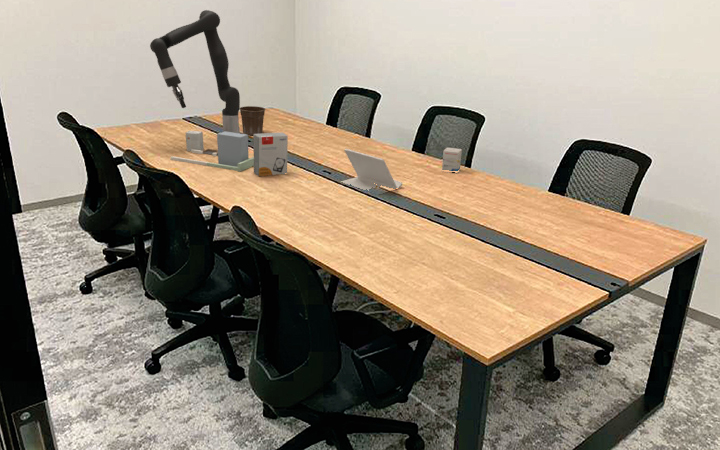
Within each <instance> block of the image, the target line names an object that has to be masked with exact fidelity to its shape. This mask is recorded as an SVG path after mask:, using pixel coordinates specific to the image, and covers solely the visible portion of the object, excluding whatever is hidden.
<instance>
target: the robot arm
mask: <svg viewBox="0 0 720 450" xmlns="http://www.w3.org/2000/svg"><path fill="white" fill-rule="evenodd" d="M198 18H199V19H198V20H195V21H193V22H191V23H189V24H186V25H182V26H180V27H176V28H175V29H173V30H171V31H169V32H168V33H166V34H164V35H162V36H160V37H158V38H154V39H153V40H152V41H151V42H150V44H149V48H150V50H151V52H152V53H154V55H155V57H156V60H157V61H156V62H157V64H158V65H157V66H159V69H160V72H161V75H162V77H163V79H164V82H165V84H166V86H167V88H172V90H171V91H172V93H173V95H174V96H175V99H176V100H177V101H178V103H179V104H180V106H181V108H182V109H186V108H187V105H186V103H185V97H184V93H183V90H182V89H181V87H180V86H179V84H181V83H182V81H181V78H180V76H179V74H178V72H177V69H176V67H175V66H174V64H173V60H172V59H171V57H170V54H169V53H170V52H169V51H168V49H170V48H172V47H174V46H177V45H179V44H181V43H183V42H184V41H186V40H188V39H190V38H193V37H194V36H196V35H199V34H202V33H203V34H204V36H205V41H206V45H207V50H208V54H209V58H210V61H211V65H212V68H213V73H214V76H215V80H216V84H217V85H216V86H217V91H218V96H219V99H220V100H221V101H222V102H225V108H223V109H222V110H221V115H222V117H221V118H222V132H225V131H226V132H233V133H240V134H241V132H240V131H241V129H240V121H239V111H240V109H239V108H241V106H240V104H241V100H240V99H241V97H240V92H239V90H238V88H236V87H233V86H231V85H230V82H229V77H228V73H229V65H230V64H229V59H228V55H227V51H226V49H225V46H224V44H223V42H222V40H221V39H220V37H219V34H218V33H219V31H218V29H217V28H218V27H219V26H220V23H221V17H220V16H219V14H218V13H216V12H214V11H212V10H207V9H206V10H205V9H204V10H202V11H201V12H200V14H199V17H198Z"/></svg>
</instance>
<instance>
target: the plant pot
mask: <svg viewBox="0 0 720 450" xmlns="http://www.w3.org/2000/svg"><path fill="white" fill-rule="evenodd" d="M239 111H240V115H241V116H240V117H241V123H242V124H241V126H242V134H246V135H248V136H253V134H262V133H263V129H264V119H265V118H264V117H265V112H266V108H265V107H262V106H255V105H253V106H252V105H251V106H250V105H248V106H240V108H239Z"/></svg>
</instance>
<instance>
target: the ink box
mask: <svg viewBox="0 0 720 450" xmlns="http://www.w3.org/2000/svg"><path fill="white" fill-rule="evenodd" d="M462 153H463V149H461V148H455V147H446V148H445V149H443V153H442V154H443V155H442V163H441V164H442V166H441V171H442V170H449V171H458V170H459V169H460V170H461V162H462Z"/></svg>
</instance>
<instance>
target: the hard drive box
mask: <svg viewBox="0 0 720 450" xmlns="http://www.w3.org/2000/svg"><path fill="white" fill-rule="evenodd" d="M252 136H253V137H252V138H253V139H252V140H253V142H252V143H253V144H252V145H253V150H252V151H253V157H254V166H253V173H254V174H255V175H256V176H257V177H267V175H268V176H277V175H276V174H282V175H286V174H285V173H287V174H288V142H289V141H288V140H289V139H288V137H289V136H288V134H286V133H284V132H268V133H267V132H264V133H263V132H262V134H253V135H252Z"/></svg>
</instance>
